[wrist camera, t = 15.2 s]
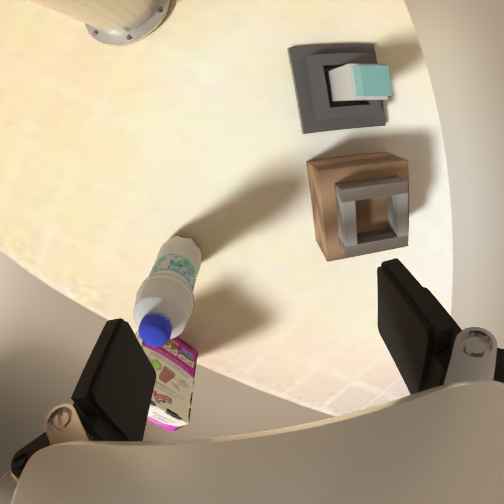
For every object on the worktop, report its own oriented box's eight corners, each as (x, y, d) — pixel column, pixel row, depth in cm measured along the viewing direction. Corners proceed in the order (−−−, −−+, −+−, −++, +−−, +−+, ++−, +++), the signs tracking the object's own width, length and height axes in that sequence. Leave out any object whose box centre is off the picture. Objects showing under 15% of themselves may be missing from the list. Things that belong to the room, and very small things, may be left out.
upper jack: (306, 161, 42) (324, 176, 33) (385, 151, 42) (419, 165, 33) (315, 240, 47) (333, 272, 38) (388, 227, 47) (417, 255, 38)
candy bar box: (135, 331, 54) (110, 400, 39) (151, 316, 52) (127, 387, 38) (182, 364, 58) (171, 434, 43) (199, 351, 56) (190, 424, 41)
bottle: (155, 235, 46) (110, 316, 28) (197, 226, 46) (173, 307, 28) (168, 274, 49) (136, 365, 31) (209, 267, 49) (194, 360, 31)
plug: (324, 72, 36) (355, 61, 25) (352, 71, 36) (391, 62, 25) (328, 101, 38) (360, 100, 27) (356, 99, 38) (396, 99, 27)
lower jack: (287, 49, 35) (292, 43, 32) (370, 45, 35) (382, 40, 31) (302, 133, 40) (308, 135, 37) (382, 125, 40) (395, 127, 36)
